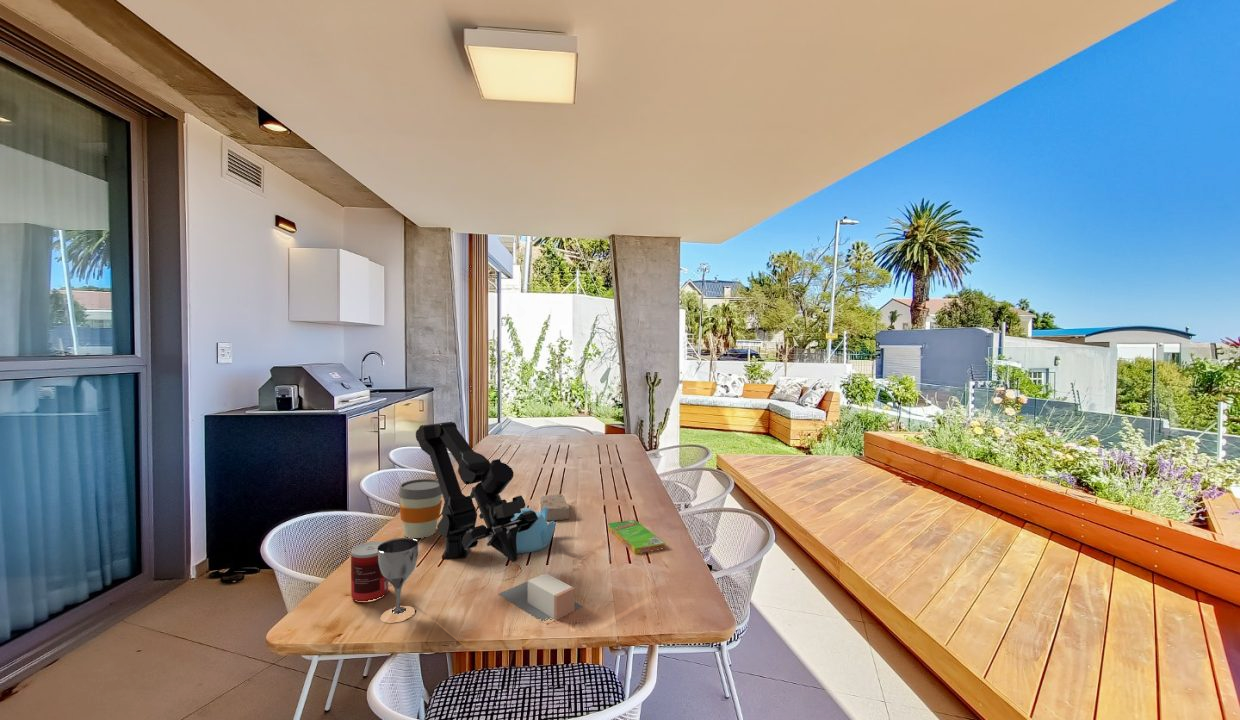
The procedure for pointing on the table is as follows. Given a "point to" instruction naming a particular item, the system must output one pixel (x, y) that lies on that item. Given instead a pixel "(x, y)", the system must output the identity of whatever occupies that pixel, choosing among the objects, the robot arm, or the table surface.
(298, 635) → the table surface
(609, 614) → the table surface
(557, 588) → the tall block
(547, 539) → the teapot
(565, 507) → the brick
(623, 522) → the game box
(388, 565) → the wine glass
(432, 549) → the table surface
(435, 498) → the reusable coffee cup
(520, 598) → the rubber mat
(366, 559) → the canned food
